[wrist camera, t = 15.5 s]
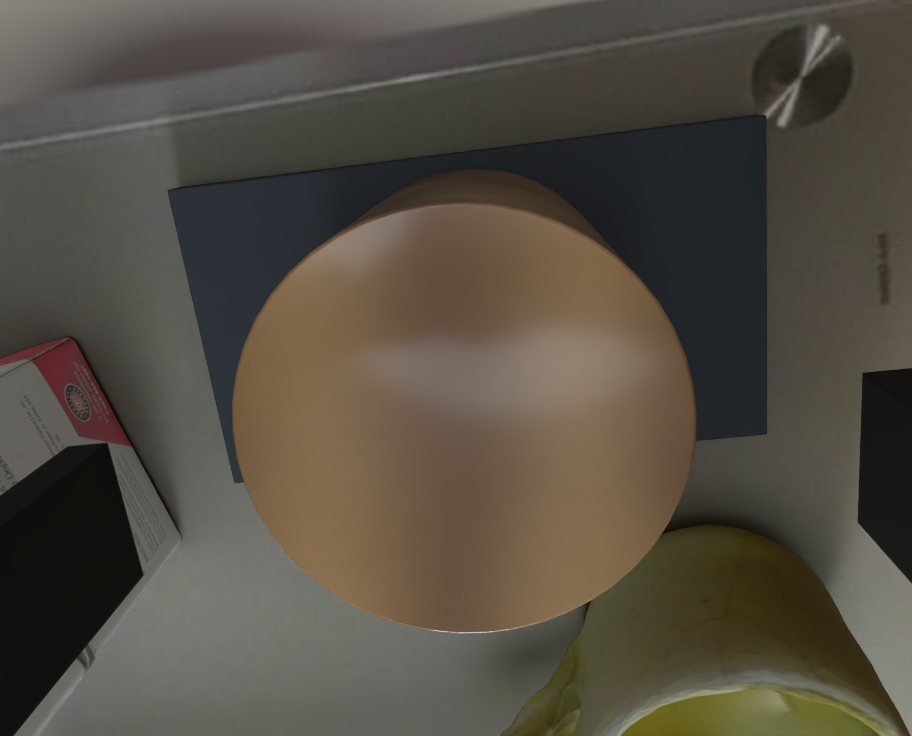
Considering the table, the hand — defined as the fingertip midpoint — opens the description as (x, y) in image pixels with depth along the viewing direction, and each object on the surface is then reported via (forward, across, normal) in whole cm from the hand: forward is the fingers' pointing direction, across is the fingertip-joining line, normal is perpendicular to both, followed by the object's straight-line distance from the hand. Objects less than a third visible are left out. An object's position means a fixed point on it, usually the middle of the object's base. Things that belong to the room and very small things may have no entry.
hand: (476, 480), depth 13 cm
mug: (+13, +4, -13) cm, 19 cm away
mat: (+12, 0, 0) cm, 13 cm away
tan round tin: (+12, 0, 0) cm, 12 cm away
